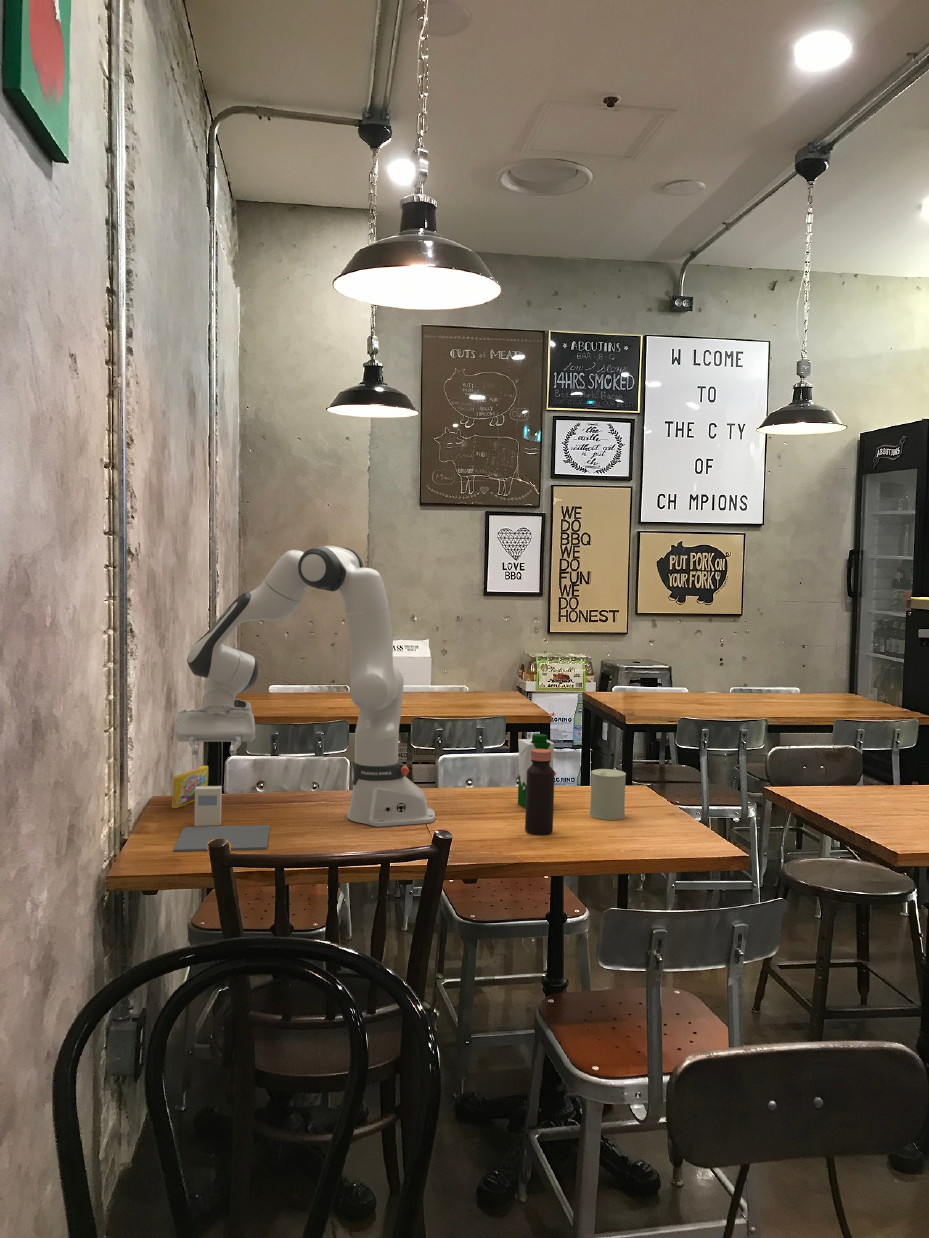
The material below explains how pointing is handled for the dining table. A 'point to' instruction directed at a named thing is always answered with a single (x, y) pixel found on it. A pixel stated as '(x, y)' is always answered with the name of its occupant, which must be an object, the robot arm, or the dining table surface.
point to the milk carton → (525, 760)
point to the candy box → (188, 785)
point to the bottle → (539, 794)
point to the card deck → (208, 805)
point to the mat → (236, 835)
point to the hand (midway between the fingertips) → (213, 753)
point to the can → (607, 794)
